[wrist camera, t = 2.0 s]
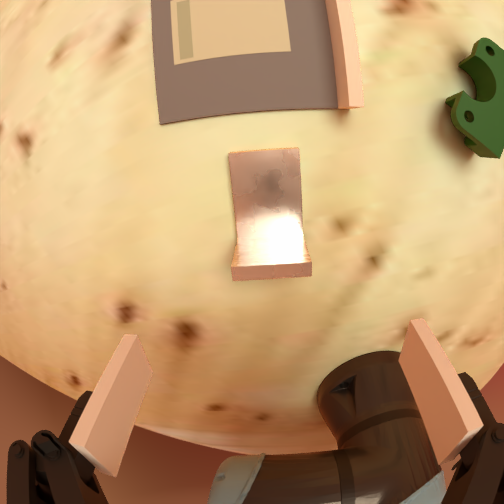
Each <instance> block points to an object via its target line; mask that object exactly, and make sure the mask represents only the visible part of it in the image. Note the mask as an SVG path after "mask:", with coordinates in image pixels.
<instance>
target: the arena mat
mask: <svg viewBox="0 0 504 504" xmlns="http://www.w3.org/2000/svg"><path fill="white" fill-rule="evenodd" d="M151 8H152V35H153V53H154V67H155V79H156V91H157V101H158V111H159V119H160V124H165V123H171V122H176V121H182V120H188V119H194V118H201V117H208V116H216V115H224V114H233V113H243V112H254V111H267V110H284V109H338V98H337V87H336V76H335V67H334V58H333V50H332V42H331V35H330V28H329V21H328V15H327V9H326V3H325V0H151Z"/></svg>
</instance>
